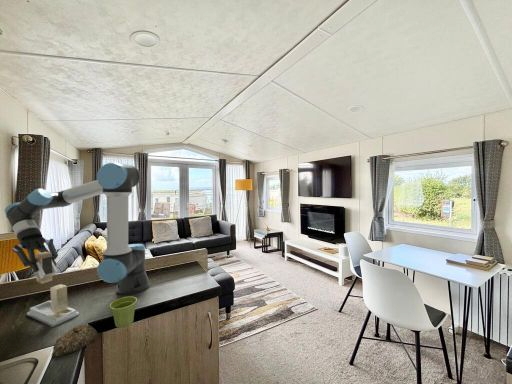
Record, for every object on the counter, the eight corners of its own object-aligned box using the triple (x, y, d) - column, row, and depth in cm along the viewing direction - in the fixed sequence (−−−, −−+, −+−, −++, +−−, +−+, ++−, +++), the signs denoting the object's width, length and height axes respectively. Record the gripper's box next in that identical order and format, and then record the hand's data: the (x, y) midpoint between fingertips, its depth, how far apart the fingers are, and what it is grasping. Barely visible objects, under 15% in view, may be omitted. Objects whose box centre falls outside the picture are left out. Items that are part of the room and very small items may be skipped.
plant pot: (107, 334, 83) (107, 311, 83) (112, 320, 92) (111, 299, 92) (136, 327, 87) (136, 305, 87) (138, 314, 96) (138, 294, 95)
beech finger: (36, 281, 96) (35, 253, 96) (46, 278, 100) (45, 251, 99) (42, 283, 95) (41, 255, 94) (53, 280, 98) (52, 253, 97)
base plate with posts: (26, 315, 96) (25, 284, 95) (52, 304, 104) (51, 276, 103) (53, 326, 88) (51, 293, 87) (79, 314, 96) (78, 284, 95)
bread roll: (99, 343, 79) (99, 329, 79) (51, 361, 71) (51, 346, 71) (95, 326, 89) (94, 313, 88) (52, 340, 80) (52, 326, 80)
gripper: (47, 233, 110) (68, 272, 104) (-2, 241, 95) (19, 288, 89) (53, 223, 108) (75, 263, 102) (4, 230, 93) (26, 277, 87)
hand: (49, 274), depth 95 cm, fingers closed on beech finger, 3 cm apart
